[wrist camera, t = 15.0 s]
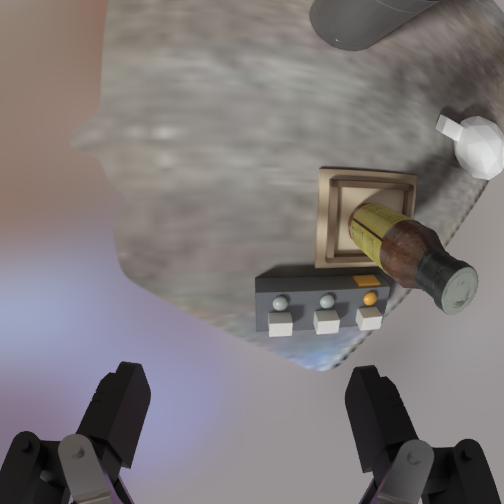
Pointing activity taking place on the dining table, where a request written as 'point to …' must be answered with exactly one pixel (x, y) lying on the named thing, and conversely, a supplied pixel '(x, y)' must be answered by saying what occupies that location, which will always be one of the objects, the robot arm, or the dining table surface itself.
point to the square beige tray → (346, 201)
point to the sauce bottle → (413, 256)
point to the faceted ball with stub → (476, 145)
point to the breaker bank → (320, 303)
